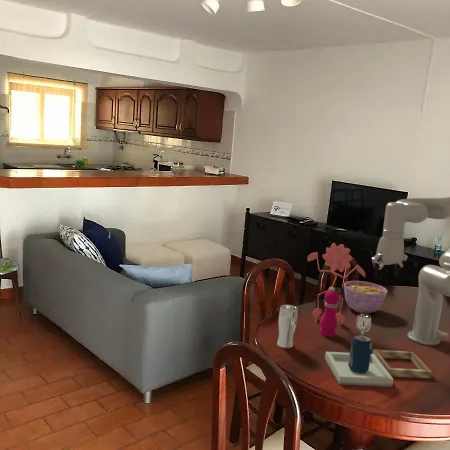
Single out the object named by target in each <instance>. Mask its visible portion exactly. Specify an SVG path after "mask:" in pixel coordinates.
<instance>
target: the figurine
mask: <svg viewBox="0 0 450 450" xmlns="http://www.w3.org/2000/svg"><path fill="white" fill-rule="evenodd" d="M325 252H326V253H324V254H322V258H323V260H324V265H325V266H326V267H330V268H329V270H327V269H320V264H319V257H318V256H319V253H318V252H317V251H316V252H312V253H310V254H309V255H308V256H307V257H306V258H307V262H311V261H314V260H316V261H317V262H316V263H317V269H318V271H319V272H326V273H331V274H333V275H334V276H335V278H334V280H333V282H332V285H331V286H330V287H328V289H327V290H325V291H323V292H320V293H318V294H317V308H315V309H314V310H313V311H312V316H313V317H314V319H315V321H314V322H315V324H316V323H317V321H318V317H319V316H321V314H324V313H325V312H324V313H323V312H322V309H321V308H319V306H320V305H319V299H320V298H319V296H320V295H322V294H324V293H326V292H327V291H331V288H332V287H334V286H335V285H334V284H335V283H336V280H337V278H338V277H340V278H342V279H345V278H347V277H348V276H349V275H350V274H351V273H353V272H354V271H355V270H357V272H358V273H359V274H360V275H361V276H362V277H363V278H366V272H365V271H364V269H363V268H362V267H361V266H360V265H358V264H356V266H355V267H354V268H353V269H351V270H350V272H348V273H347V274H346V275H345V276H343V275H341V274H339V273H337V272H335V271H337V270H338V271H339V272H340V273H343V272H344V271H345V269H349V268H351V263H350V262H351V261H352V260H353V256H352V255H350V252H351V249H350V248H348V247H345V245H344V244H343V243H342V244H339V245H337V244H336V243H335V242H333V243H332V244H331V245H330V247H326V248H325ZM340 299H341V303H340V308H339V312H335V315H336V319H337V323H338V324H339V323H341V324H343V325H344V324H345V322H346V318H345V316H344V314H342V313H341V311H342V307H343V301H344V299H343V297H341V296H340ZM338 324H337V326H338Z"/></svg>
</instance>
